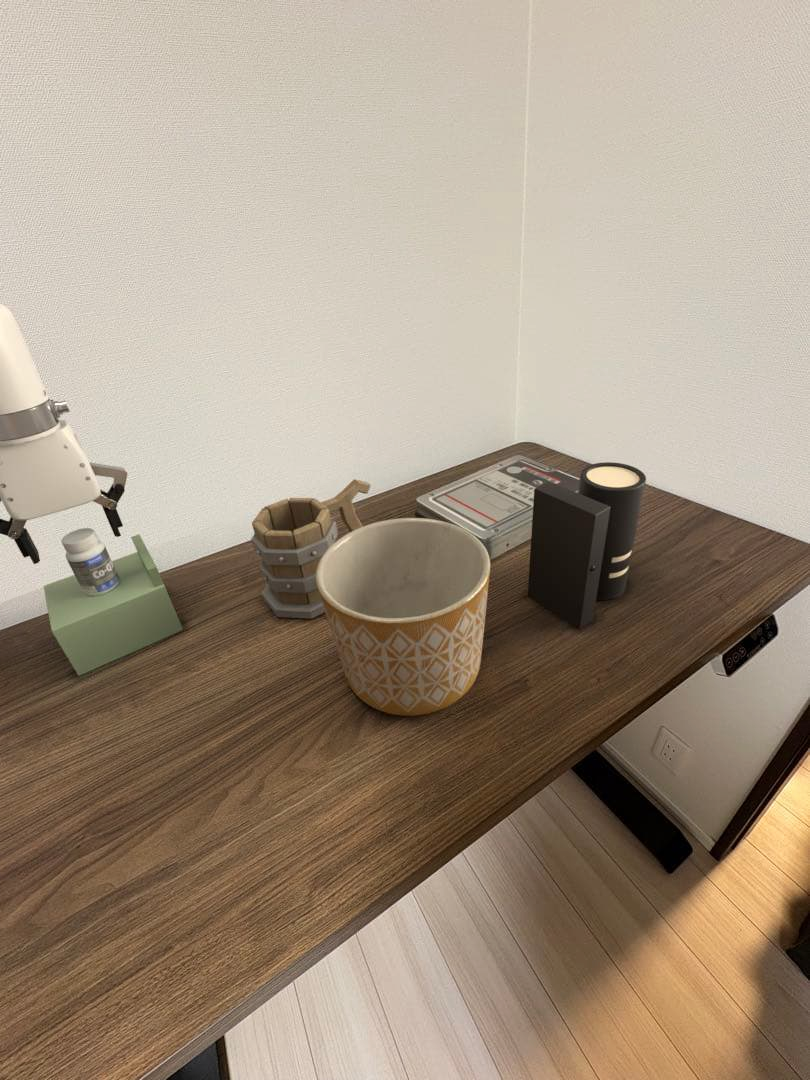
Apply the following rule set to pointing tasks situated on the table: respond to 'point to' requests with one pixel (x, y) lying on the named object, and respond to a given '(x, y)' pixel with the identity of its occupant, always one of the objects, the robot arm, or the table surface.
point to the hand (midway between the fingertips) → (77, 545)
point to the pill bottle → (90, 562)
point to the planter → (407, 611)
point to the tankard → (299, 548)
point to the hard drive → (494, 501)
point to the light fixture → (584, 540)
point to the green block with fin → (112, 613)
